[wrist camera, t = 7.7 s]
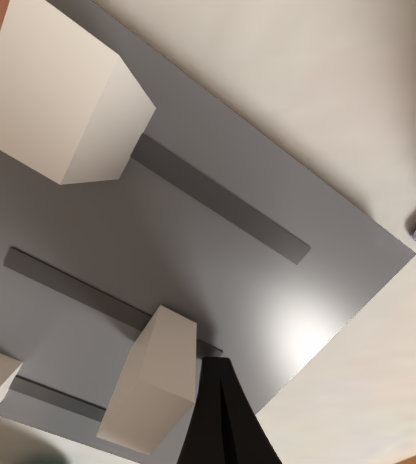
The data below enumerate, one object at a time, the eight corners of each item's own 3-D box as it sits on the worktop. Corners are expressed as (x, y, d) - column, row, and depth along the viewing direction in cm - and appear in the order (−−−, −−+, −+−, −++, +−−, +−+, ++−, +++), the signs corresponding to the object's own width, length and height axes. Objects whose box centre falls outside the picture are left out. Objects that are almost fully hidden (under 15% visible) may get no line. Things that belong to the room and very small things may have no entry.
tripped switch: (196, 323, 10) (194, 402, 6) (165, 364, 10) (149, 455, 7) (160, 304, 9) (138, 378, 6) (130, 348, 10) (95, 436, 7)
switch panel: (380, 239, 11) (534, 299, 6) (191, 442, 16) (186, 578, 11) (23, -32, 8) (-375, -486, 2) (-93, 335, 12) (-321, 462, 7)
